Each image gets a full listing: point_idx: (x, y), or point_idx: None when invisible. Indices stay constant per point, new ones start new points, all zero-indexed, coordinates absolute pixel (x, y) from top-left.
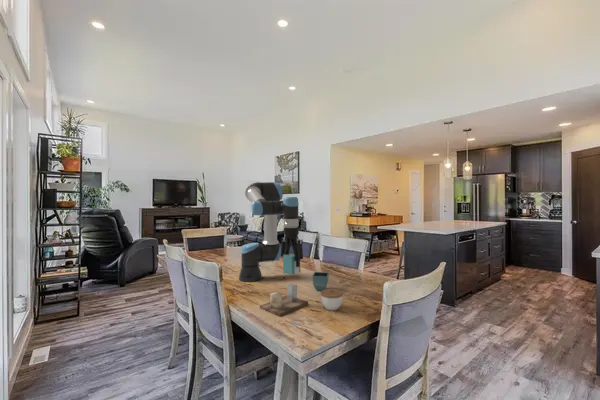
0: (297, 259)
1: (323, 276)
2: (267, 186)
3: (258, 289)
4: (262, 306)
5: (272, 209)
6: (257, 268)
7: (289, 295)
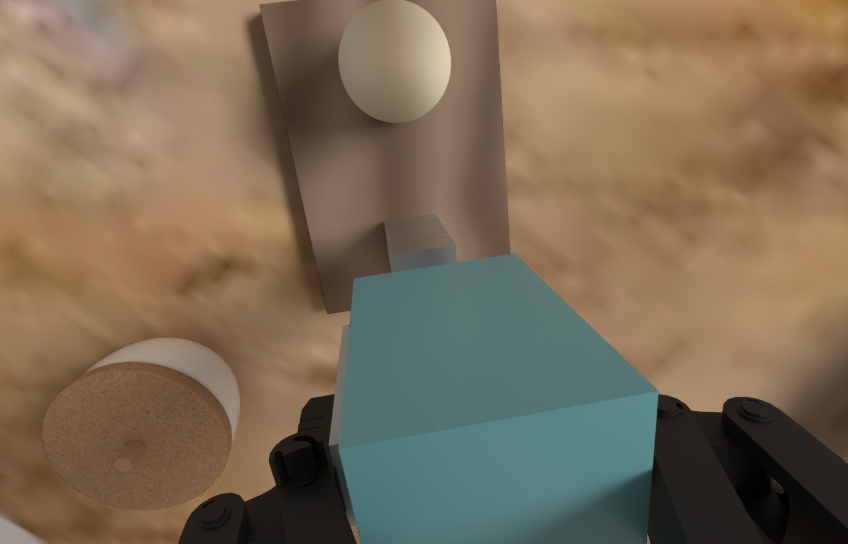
0: (279, 493)
1: None
2: None
3: (789, 218)
4: None
5: None
6: None
7: (414, 227)
